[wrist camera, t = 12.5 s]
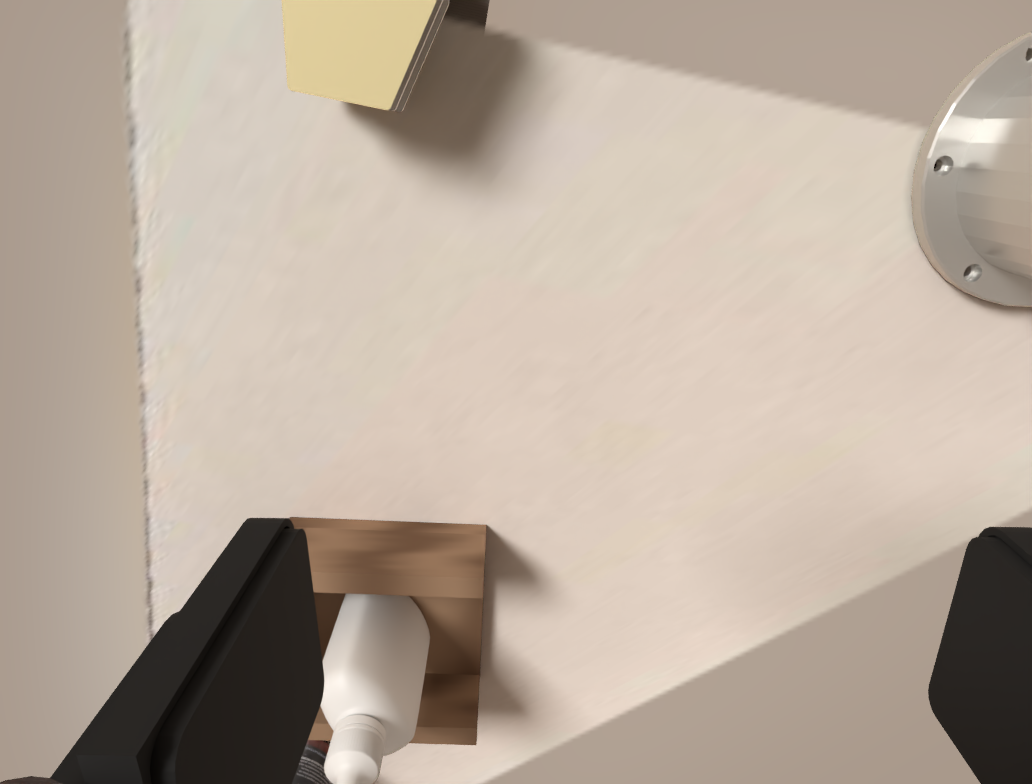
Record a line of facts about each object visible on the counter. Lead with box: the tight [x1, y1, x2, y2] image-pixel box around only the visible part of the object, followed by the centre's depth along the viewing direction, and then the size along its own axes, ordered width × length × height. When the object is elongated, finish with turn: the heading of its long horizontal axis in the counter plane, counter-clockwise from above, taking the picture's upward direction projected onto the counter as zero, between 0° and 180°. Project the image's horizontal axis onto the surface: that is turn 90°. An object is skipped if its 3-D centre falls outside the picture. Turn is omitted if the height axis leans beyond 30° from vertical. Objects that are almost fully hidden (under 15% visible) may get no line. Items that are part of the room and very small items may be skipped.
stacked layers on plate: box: [282, 0, 490, 112], centre depth 28 cm, size 10×9×6 cm
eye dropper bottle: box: [320, 594, 430, 784], centre depth 35 cm, size 4×6×12 cm
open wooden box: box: [290, 517, 486, 745], centre depth 39 cm, size 11×11×5 cm
